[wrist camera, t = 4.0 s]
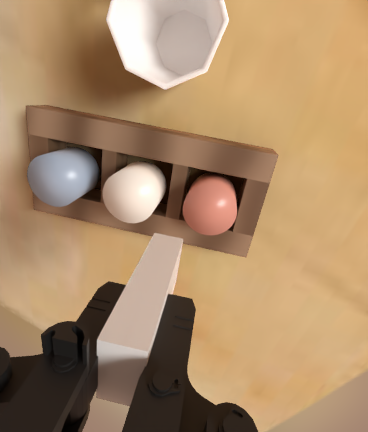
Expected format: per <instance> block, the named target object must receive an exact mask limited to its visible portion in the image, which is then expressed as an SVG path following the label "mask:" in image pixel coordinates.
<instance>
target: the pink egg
mask: <svg viewBox="0 0 368 432" xmlns="http://www.w3.org/2000/svg"><path fill="white" fill-rule="evenodd" d="M183 216H184V219H185V221H186V223H187V224H188V225H189V226H190V227H191V228H192V229H193V230H194V231H196V232H198V233H200V234H203V235H218V234H221V233H223V232H225V231H227V230H228V229H229V228H230V227H231V226H232V225H233V223H234V221H235V219H236V216H237V203H236V192H235V188H234V186H233V184H232V182H231V181H230V180H229V179H228V178H227V177H225V176H224V175H221V174H218V173H206V174H203V175H201V176H199V177H198V178H197V179H196V180H195V181H194V182H193V183H192V185H191V187H190V189H189V192H188V194H187V196H186V199H185V201H184V204H183Z"/></svg>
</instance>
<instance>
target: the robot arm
mask: <svg viewBox="0 0 368 432" xmlns="http://www.w3.org/2000/svg"><path fill="white" fill-rule="evenodd" d="M182 243H183V239H182V238H177V237H172V236H167V235H163V234H158V233H154V235H153V237H152V238H151V240H150V242H149V244H148V246H147V248H146V249H145V251H144V253H143V255H142V257H141V259H140V261H139V262H138V264H137V266H136V268H135V270H134V272H133V274H132V275H131V277H130V279H129V281H128V283H127V285H123V284H119V283H114V282H110V281H109V282H107V283H106V284H104V285H103V286H101V287H100V288H98V290H97V291H96V293H95V294H94V296H93V297H92V300H90V302H89V303H88V305H87V307H86V308H85V309H84V311H83V312H82V314H81V315H80V317H79V318H78V320H77V321H76V322H72V321H66V322H61V323H57V324H55V325H53V326H51V327H49V328H48V329H47V330H46V331H45V332H44V333H42V334H41V339H42V348H43V354H40V355H34V356H22V357H10V355H9V353H8V352H7V351H6V350H5V348H1V347H0V432H82V430H83V428H84V426H85V424H86V421H87V419H88V415H89V411H90V402H91V400H92V398H93V396H94V393H95V391H96V392H97V393H96V395H97V396H96V397H97V398H99V399H103V400H107V401H111V402H115V403H119V404H123V405H127V406H130V408H129V411H128V415H127V417H126V421H125V424H124V427H123V430H122V432H258V430H257V428H256V426H255V423H254V421H253V419H252V418H251V417H250V415H249V414H248V413H247V412H246V411H245V410H244V409H243V408H241V407H239V406H238V405H236V404H233V403H228V402H225V403H221V404H217V405H214V404H213V403H211V402H210V401H208V400H207V399H205V398H204V397H202V396H201V395H200V394H199V393H197V392H196V390H195V389H194V388H193V387H192V385H191V383H190V381H189V378H188V374H187V365H188V358H189V351H190V345H191V338H192V330H193V324H194V317H195V311H196V309H195V306H194V303H193V300H192V299H190V298H186V297H181V296H177V295H172V294H173V291H174V287H175V284H176V279H177V273H178V267H179V261H180V255H181V249H182ZM96 389H97V390H96Z"/></svg>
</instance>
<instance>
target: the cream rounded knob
mask: <svg viewBox="0 0 368 432" xmlns="http://www.w3.org/2000/svg"><path fill="white" fill-rule="evenodd" d="M165 192H166V179H165V177H164V174H163V173H162V171H161V170H160V169H159V168H158V167H157V166H156V165H154V164H152V163H150V162H147V161H135V162H133V163H131V164H129V165H127V166H126V167H124V168H123V169H121V170H119V171H118V172H116V173H115V174H113V175H112V176H110V177H109V178H108V179H107V181H106V182H105V184H104V187H103V200H104V203H105V206H106V208H107V209H108V211H109V212H110V213H111V214H112V215H113V216H114V217H116V218H117V219H119V220H121V221H123V222H126V223H139V222H142V221H144V220H146V219H147V218H149V217H150V215H151V214H152V213H153V211H154V210H155V208H156V207H157V205H158V204H159V202H160V201H161V200H162V198H163V197H164V195H165Z"/></svg>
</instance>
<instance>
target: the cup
mask: <svg viewBox="0 0 368 432" xmlns="http://www.w3.org/2000/svg"><path fill="white" fill-rule="evenodd" d="M106 21H107V24H108V26H109V29H110V32H111V34H112V37H113V39H114V42H115V44H116V47H117V49H118V52H119V55H120V57H121V60H122V62H123V65H124V67H125V70H127V71H129V72H131V73H133V74H135V75H137V76H139V77H141V78H143V79H145V80H147V81H149V82H151V83H153V84H155V85H157V86H159V87H161V88H163V89H165V90H166V89H168V88H170V87H173V86H175V85H177V84H180V83H182V82H184V81H187V80H189V79H191V78H194V77H196V76H198V75H201V74H203V73H205V72H207V70H208V68H209V66H210V63H211V61H212V59H213V56H214V54H215V52H216V49H217V47H218V45H219V43H220V40H221V38H222V36H223V33H224V31H225V29H226V26H227V24H228V22H229V18H228V14H227V10H226V6H225V3H224V0H111V2H110V6H109V10H108V14H107V18H106Z"/></svg>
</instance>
